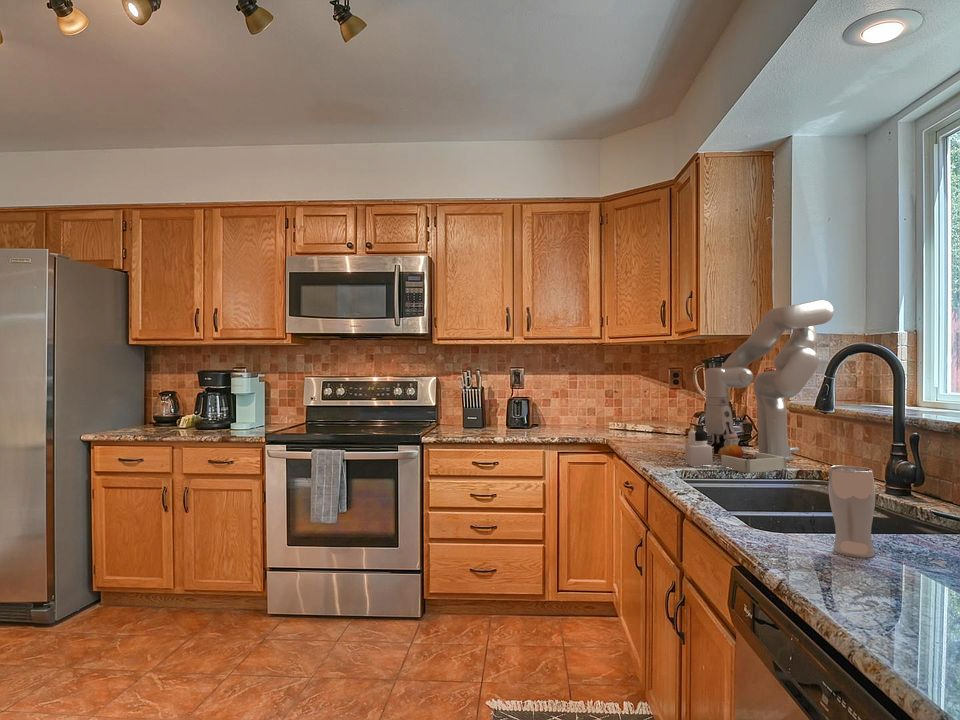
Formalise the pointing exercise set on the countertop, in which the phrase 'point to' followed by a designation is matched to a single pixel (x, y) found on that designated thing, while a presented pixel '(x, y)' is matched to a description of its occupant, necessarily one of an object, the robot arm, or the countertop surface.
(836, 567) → the countertop surface
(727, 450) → the fruit
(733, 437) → the cupcake
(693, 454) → the medicine bottle
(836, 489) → the beer glass
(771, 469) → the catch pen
